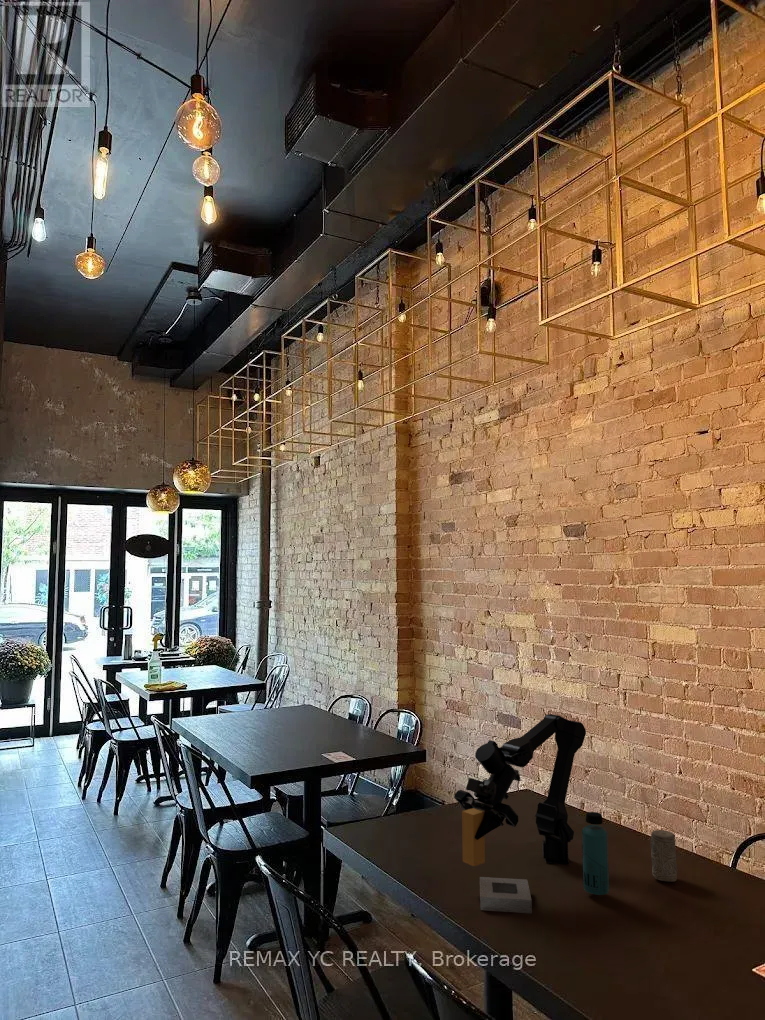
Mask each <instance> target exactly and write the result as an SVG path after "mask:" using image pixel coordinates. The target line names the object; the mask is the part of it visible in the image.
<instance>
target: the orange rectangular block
mask: <svg viewBox="0 0 765 1020" xmlns="http://www.w3.org/2000/svg"><path fill="white" fill-rule="evenodd" d="M461 816H462V817H461V822H462V823H461V825H462V826H461V827H462V828H461V829H462V830H461V831H462V832H461V835H462V837H461V838H462V841H461V842H462V863H464V864H466V865H469V866H472V867H477V866H479V865H483V864H486V863H485V862H486V859H485V858H486V856H485V855H486V853H485V852H486V851H485V850H486V849H485V847H486V846H485V845H486V844H485V835H484V836H483V837H481V838H480V839H478V840H476V839H475V835H476V832H477V830H478V828H479V826H480V824H481V822H482V820H483V819H484V810H481V809H478V810H477V809H474V808H472V809H468V810H465V809H463V810H462V811H461Z"/></svg>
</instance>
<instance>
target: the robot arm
mask: <svg viewBox="0 0 765 1020" xmlns="http://www.w3.org/2000/svg"><path fill="white" fill-rule="evenodd" d="M553 735H554V740H555V743H556V747H557V751H556V756H555V761H554V765H553V770H552V774H551V779H550V784H549V786H548V788H549V789H548V793H547V797H546V799H545V800H544V801H543V802H541V801H539V802H538V804H537V808H536V813H535V815H534V817H535V824H536V827H537V831H538V835H539V836H543V838H544V839H543V840H542V843H541V844H542V845H541V847H542V849H541V850H542V858H543V859H544V861H545V863H546V864H559V865H570V860H569V843H571V841H573V839H574V836H575V835H574V834H575V831H574V830H573V829H572V827H571V826H570V824H568V819H569V817H568V816H569V814H568V812H567V807H566V804H565V802H566V798H567V793H568V789H569V785H570V784H569V783H570V778H571V774H572V770H573V766H574V765H573V764H574V761H575V754H576V753H577V752H578V751H579V749H581V747H583V744H584V740H585V738H586V735H587V729H586V728H585V726H584V723H583V722H580V721H576V720H569V719H567V718H564V717H562V716H561V715H557V714H551V713H549V714H545V715H544V717H543V719H542V720H540V721H539V722H538V723H536V724H535V725H534V726H533V727H532V728H531V729H529V730H528V731H526V732H525V733H524V734H523V735H521V736H520V737H517V738H512V739H510V740H508V741H506V742H504V743H503V744H502V745H501V746H500V747H499V746H498V744H497V742H496V741H495V740H491V739H489V740H488V741H487V742H486V743H484V744H481V745H480V746H479V747H478V748H477V749H476V751H475V754H474V755H475V757H474V758H475V759H476V760H477V762H478V763H479V764H480V765H481V766H482V768H483V769H484V770H485V772H486V773H487V774H489V775H490V776H489V778H488V779H483V780H479V779H475V778H472V777H469V778H468V780H467V785H466V788H465V790H462V789H459V790H456V792H455V794H454V796H453V798H454V800H455V801H457V803H458V804H459V805H460V807H461V808H462V809H463V810H468V809H472V808H474V809H477V810H480V811H483V812H484V819H483V820H482V822H481V824H480V826H479V828H478V830H477V832H476V835H475V839H476V840H478V839H480V838H481V837H483V836H484V837H485V836H486V835H488V833H491V832H492V831H493V830H496V829H497V828H499V827H504V825H505V824H506V825H507V826H510V827H512V828H516V827H517V824H518V822H519V815H518V814H517V813H516V812H515V810H514V809H513V808H512V806H511V805H508V804H506V803H504V802H503V801H504V800H508V798H509V795H508V794H507V793H508V792H509V789H510V788H511V786H512V784H513V782H514V781H516V782H520V781H521V776H520V772H519V769H515V768H514V767H517V768H518V767H519V768H524V767H526V766H527V765H528V764H529V763H530V761H531V760H532V759H533V758H534V752H535V751H536V750H537V749H538V748H539V747H540V746H541V745H543V744H544V743H545V742H546V741H547V740H548V739H550V738H551V737H552V736H553ZM513 766H514V767H513ZM469 791H470V792H472V793H473V794H472V793H470V792H469ZM474 797H475V798H474ZM476 798H477V799H476ZM504 821H505V824H504Z"/></svg>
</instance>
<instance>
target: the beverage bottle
mask: <svg viewBox="0 0 765 1020" xmlns="http://www.w3.org/2000/svg"><path fill="white" fill-rule="evenodd" d="M585 822H586V824H587V823H588V825H586V826H584V827H583V828H582V829H581V835H582V837H581V843H582V844H581V847H582V851H581V853H582V854H581V856H582V863H581V864H582V886H583V889H584V891H585V892H587V893H589V894H592V895H597V896H603V895H607V894H608V893H609V891H610V878H609V877H610V874H609V857H608V856H609V854H608V832H607V830H606V829H605V828H604V827H603V826H601V825H602V824H603V822H604V820H603V815H602V813H599V812H595V811H589V812H586V813H585Z"/></svg>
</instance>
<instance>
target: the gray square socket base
mask: <svg viewBox="0 0 765 1020" xmlns="http://www.w3.org/2000/svg"><path fill="white" fill-rule="evenodd" d="M479 899H480V900H479V902H480V911H485V912H486V911H489V912H501V913H502V912H505V913H517V914H518V913H519V914H521V913H522V914H532V913H533V911H532V910H533V909H532V907H533V906H532V903H533V902H532V901H533V900H532V897H531V891H530V887H529V882H528V879H524V878H507V877H505V878H504V877H491V876H490V877H489V876H479Z"/></svg>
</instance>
